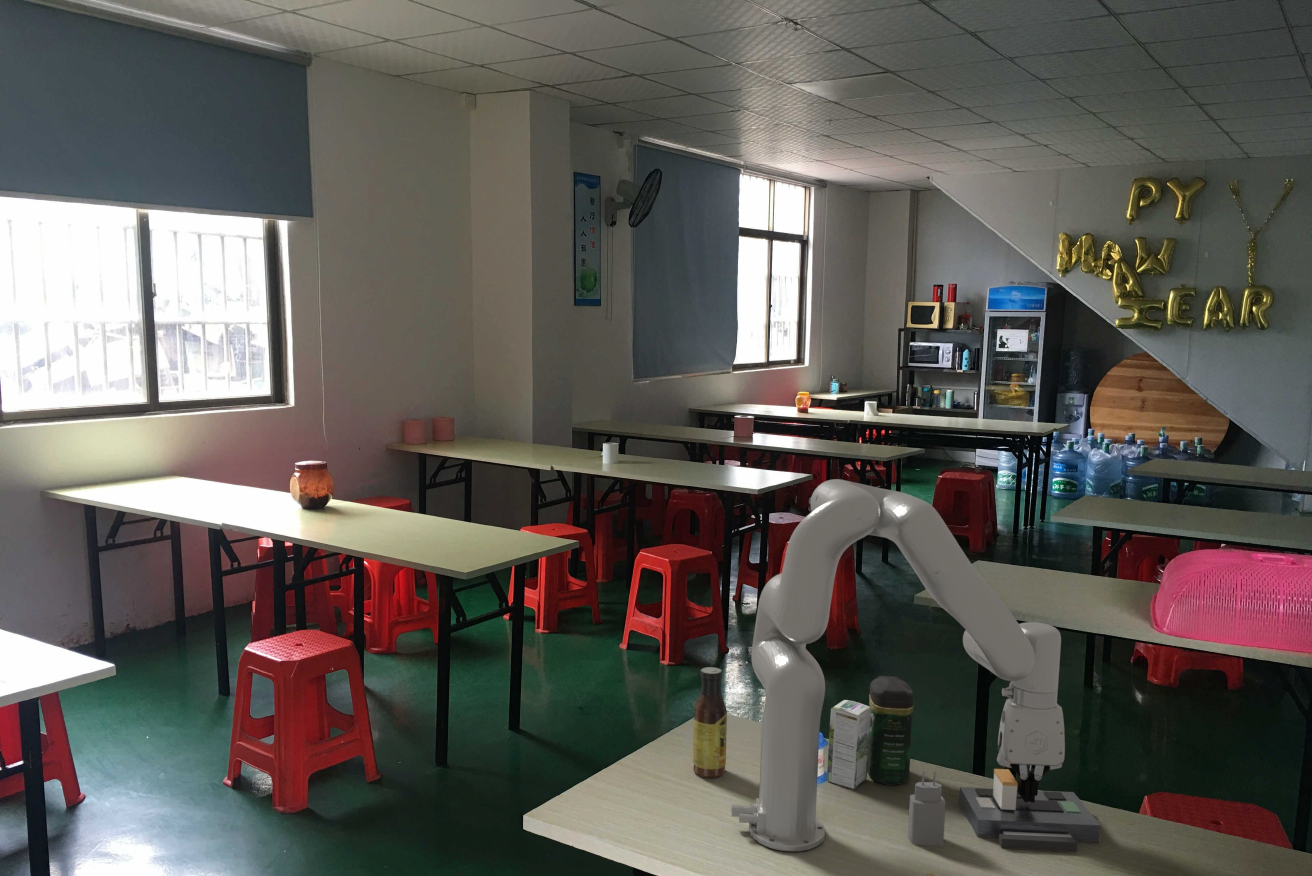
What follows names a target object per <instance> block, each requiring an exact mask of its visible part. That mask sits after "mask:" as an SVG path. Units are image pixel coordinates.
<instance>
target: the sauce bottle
mask: <svg viewBox="0 0 1312 876" xmlns="http://www.w3.org/2000/svg"><path fill="white" fill-rule="evenodd" d="M700 679H701V683H700V685H701V686H700V695H699V696H698V698H697V700H696V701H695V704H694V718H693V743H692V744H693V748H692V749H693V751H692V752H693V753H692V756H693V757H692V764H693V768H692V769H693V772H694V773H695V775H698V776H700V777H702V778H709V779H710V778H718V777H720V776H722V775H723V774H724V773H725V769H726V761H727V733H728V732H727V729H728V728H727V722H728V721H727V720H728V716H727V715H728V709H727V708H726V703H725V701H724V697H723V694H722V679H723V670H722V669H720V668H718V667H715V666H714V667H712V666H708V667H703V668H702V669H700Z"/></svg>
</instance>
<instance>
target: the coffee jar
mask: <svg viewBox="0 0 1312 876" xmlns="http://www.w3.org/2000/svg"><path fill="white" fill-rule="evenodd" d="M868 701H869V703H868V706H869V707H870V708H871V717H870V734H869V749H868V765H867V776H868V777H869V778H870V779H871V780H872V781H873V782H877V783H881V784H884V785H888V786H897V785H901V784H906V783H907V782H908V781H909V779H910V771H911V770H910V768H911V750H912V749H911V748H912V732H913V714H914V692H913V690H912V688H911V687H910V684H908V683H907V682H905V680H902V679H901V678H900V677H899V676H889V675H887V676H885V675H879V676H878V677H876V678H875V679H873V680H872V681H871V682H870V686H869V699H868Z"/></svg>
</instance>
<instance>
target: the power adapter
mask: <svg viewBox="0 0 1312 876" xmlns="http://www.w3.org/2000/svg"><path fill="white" fill-rule="evenodd" d="M932 778H933V779H932V781H928V782H927V781H925V770H922V779H921V781H919V782H916V783H915V784H914V794H910V795H909V809H908V828H907V839H908V840H909V842H910V844H911V845H915V846H943V845H944V840H945V839H944V837H945V824H946V823H945V820H946V800H945V798H944V797H943V796H942V786H943V785H942V784H940V783H938V782H936V771H935V770H934V771H933V777H932Z"/></svg>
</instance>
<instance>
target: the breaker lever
mask: <svg viewBox="0 0 1312 876" xmlns="http://www.w3.org/2000/svg"><path fill="white" fill-rule="evenodd" d="M992 785H993V786H992V787H993V797H994V798H995V800H996V802H997V803H998V805H999V806H1000V808H1001V809H1006V810H1016V795H1017V786H1018V780H1016V778H1015V777H1014V775H1013V774H1012V772H1011V770H1010V769H1009V768H1006V769H1005V768H1004V769H1003V768H993V784H992Z"/></svg>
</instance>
